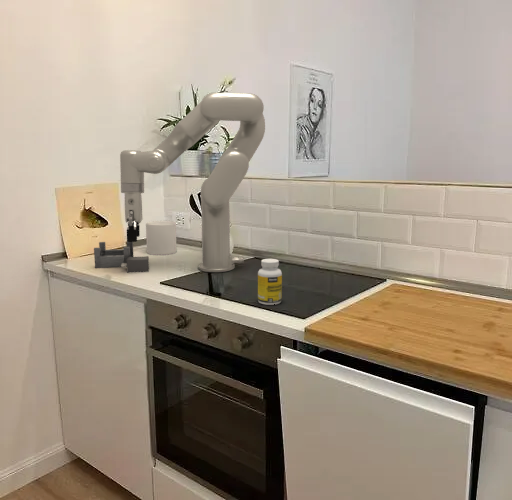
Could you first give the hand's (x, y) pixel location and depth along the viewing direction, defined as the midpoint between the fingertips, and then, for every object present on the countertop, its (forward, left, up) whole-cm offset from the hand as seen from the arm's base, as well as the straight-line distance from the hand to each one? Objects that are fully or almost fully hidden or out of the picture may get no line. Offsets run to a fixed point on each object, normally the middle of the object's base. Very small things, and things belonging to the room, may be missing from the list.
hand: (133, 239), depth 171 cm
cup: (-8, -30, -11) cm, 33 cm away
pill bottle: (-40, +42, -11) cm, 59 cm away
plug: (-1, 0, -11) cm, 11 cm away
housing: (+8, -12, -11) cm, 18 cm away
